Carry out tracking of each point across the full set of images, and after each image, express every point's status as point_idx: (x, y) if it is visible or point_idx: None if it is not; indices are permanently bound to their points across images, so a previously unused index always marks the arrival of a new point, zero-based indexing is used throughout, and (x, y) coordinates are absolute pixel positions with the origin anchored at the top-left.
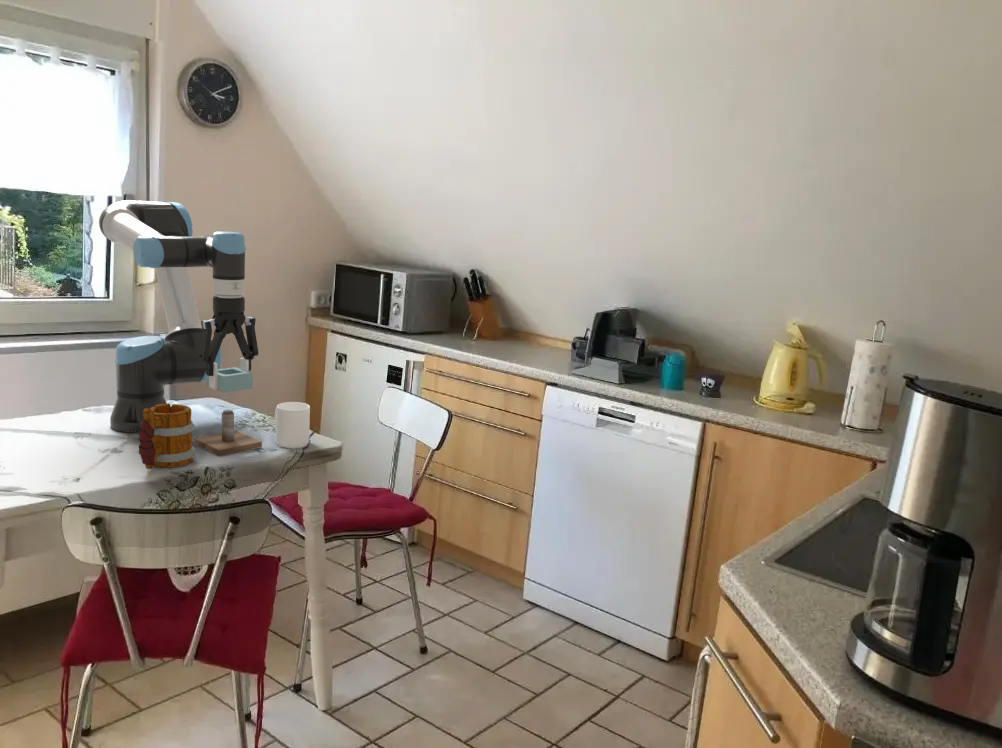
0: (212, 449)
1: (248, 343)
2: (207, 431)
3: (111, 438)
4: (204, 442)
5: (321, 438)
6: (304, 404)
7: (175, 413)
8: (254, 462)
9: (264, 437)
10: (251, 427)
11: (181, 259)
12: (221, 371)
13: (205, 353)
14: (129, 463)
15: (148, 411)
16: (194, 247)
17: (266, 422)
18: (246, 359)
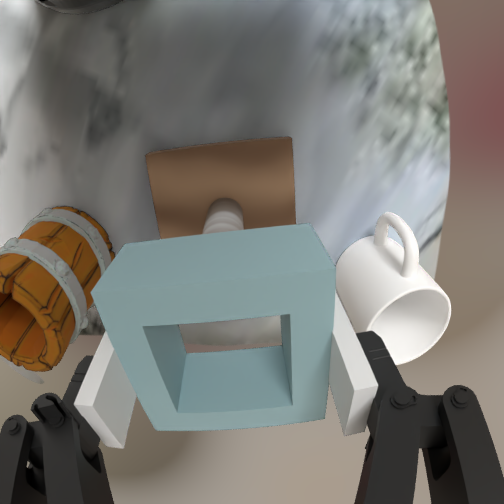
0: None
1: (457, 479)
2: (233, 55)
3: (10, 42)
4: (157, 207)
5: (435, 264)
6: (446, 314)
7: (27, 367)
8: (227, 337)
9: (346, 191)
10: (365, 88)
11: None
12: (194, 317)
13: (39, 491)
14: (9, 230)
15: None
16: None
17: (420, 74)
18: (358, 426)
